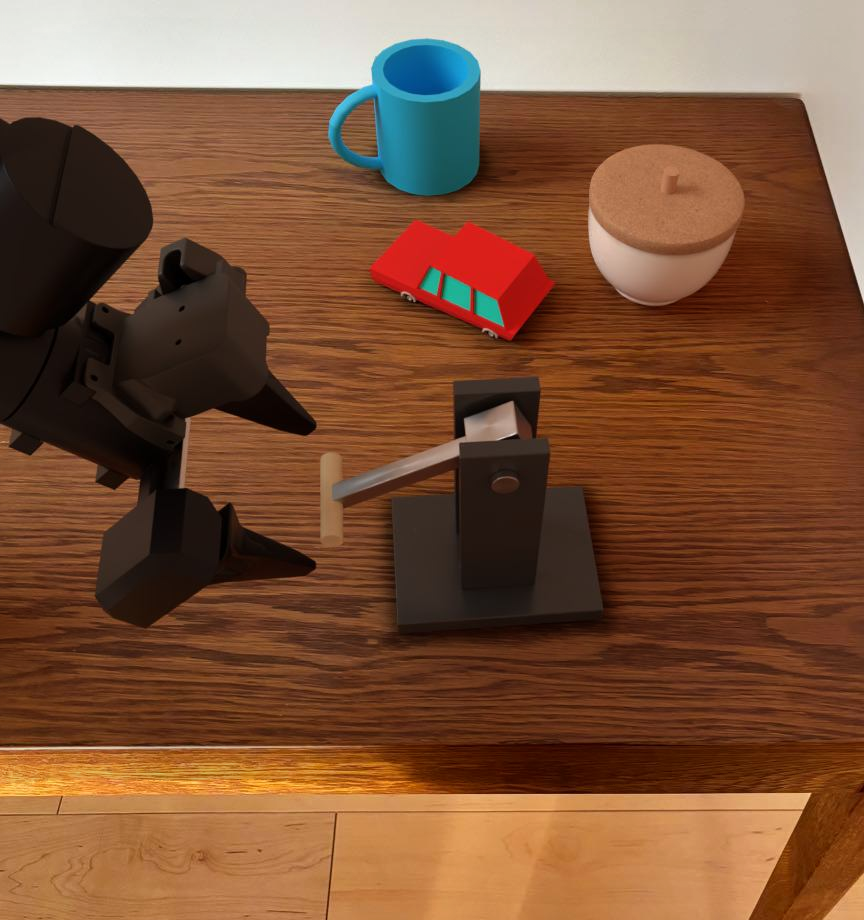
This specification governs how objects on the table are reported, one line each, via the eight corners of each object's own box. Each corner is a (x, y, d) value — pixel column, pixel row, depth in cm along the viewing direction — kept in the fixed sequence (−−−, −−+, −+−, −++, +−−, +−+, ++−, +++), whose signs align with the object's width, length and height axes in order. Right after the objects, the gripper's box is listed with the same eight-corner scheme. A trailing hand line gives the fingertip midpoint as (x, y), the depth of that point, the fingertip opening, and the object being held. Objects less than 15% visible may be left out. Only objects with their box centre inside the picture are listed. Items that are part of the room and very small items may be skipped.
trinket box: (630, 348, 72) (651, 243, 64) (552, 256, 77) (562, 149, 69) (750, 298, 75) (783, 193, 67) (667, 213, 80) (690, 106, 72)
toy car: (418, 236, 78) (416, 192, 74) (555, 294, 75) (560, 251, 71) (370, 286, 74) (366, 243, 71) (512, 349, 71) (515, 307, 68)
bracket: (398, 634, 59) (382, 496, 47) (392, 507, 64) (376, 354, 52) (601, 619, 60) (634, 481, 48) (580, 496, 65) (605, 343, 53)
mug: (461, 124, 85) (461, 31, 78) (492, 185, 81) (495, 91, 74) (322, 150, 83) (309, 55, 76) (346, 213, 79) (335, 119, 72)
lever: (334, 555, 54) (309, 534, 52) (333, 473, 57) (310, 450, 55) (540, 485, 51) (521, 460, 49) (527, 401, 54) (509, 375, 52)
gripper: (96, 442, 35) (425, 585, 45) (146, 112, 45) (406, 290, 55) (-48, 575, 41) (272, 675, 51) (25, 257, 51) (280, 393, 61)
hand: (311, 496), depth 54 cm, fingers open, 9 cm apart
